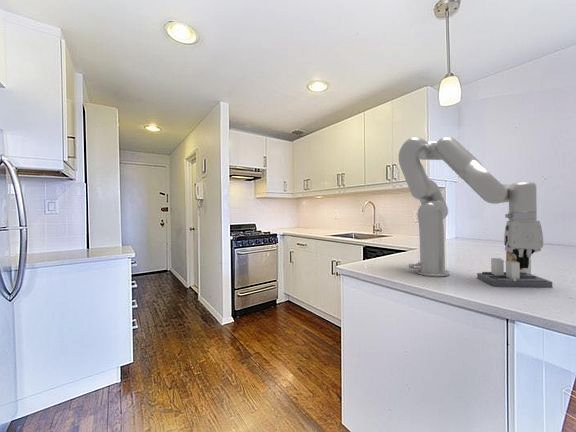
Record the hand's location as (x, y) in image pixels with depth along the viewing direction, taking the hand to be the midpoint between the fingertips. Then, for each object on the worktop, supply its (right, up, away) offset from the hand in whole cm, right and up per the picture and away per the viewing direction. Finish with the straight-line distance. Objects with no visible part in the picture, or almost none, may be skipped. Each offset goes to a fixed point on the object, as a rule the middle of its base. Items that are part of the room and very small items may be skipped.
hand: (522, 267), depth 97 cm
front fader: (-3, -4, +1) cm, 5 cm away
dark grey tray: (-1, -6, +3) cm, 7 cm away
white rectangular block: (-4, -4, +6) cm, 8 cm away
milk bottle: (+10, -6, +14) cm, 18 cm away
